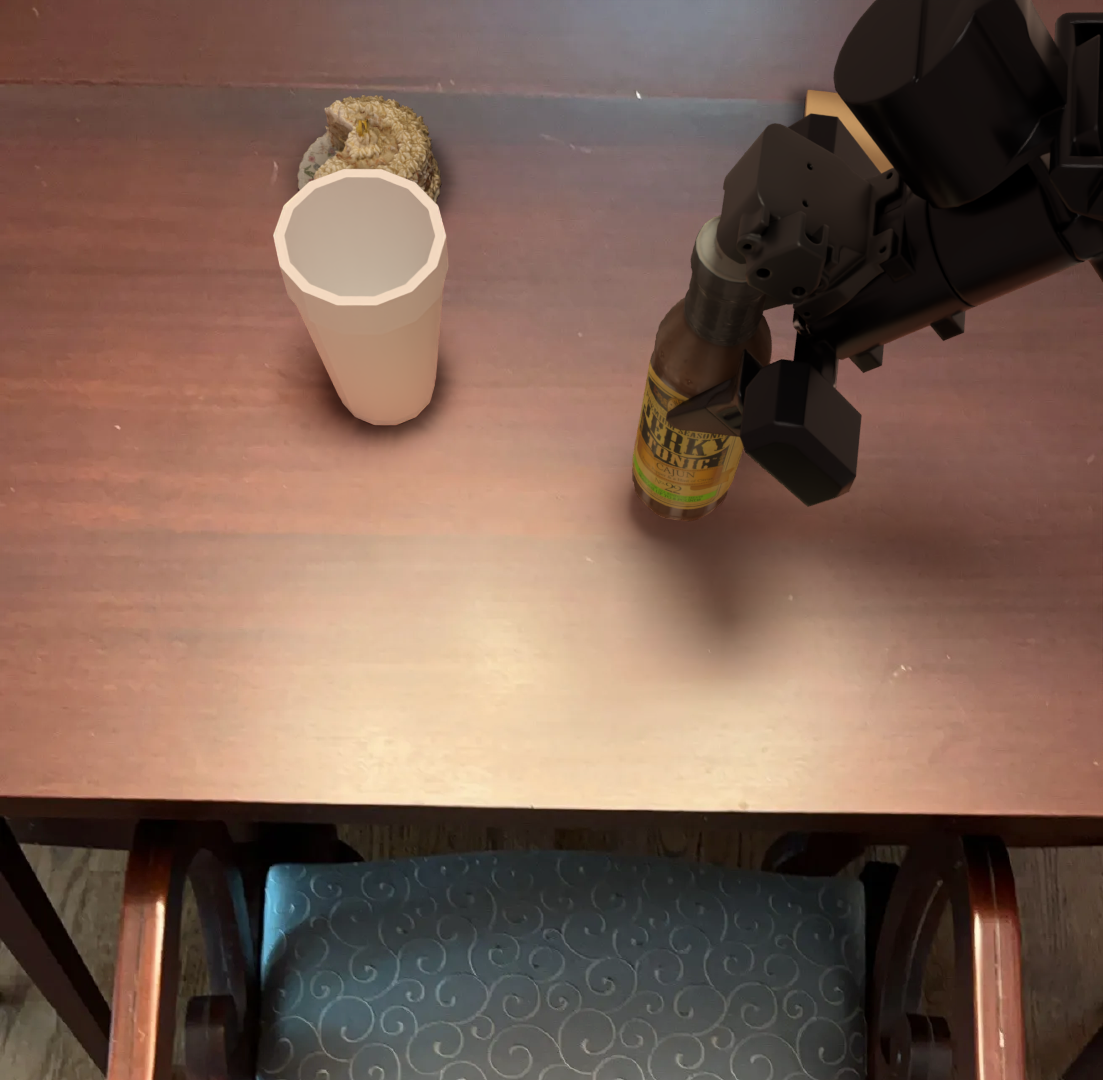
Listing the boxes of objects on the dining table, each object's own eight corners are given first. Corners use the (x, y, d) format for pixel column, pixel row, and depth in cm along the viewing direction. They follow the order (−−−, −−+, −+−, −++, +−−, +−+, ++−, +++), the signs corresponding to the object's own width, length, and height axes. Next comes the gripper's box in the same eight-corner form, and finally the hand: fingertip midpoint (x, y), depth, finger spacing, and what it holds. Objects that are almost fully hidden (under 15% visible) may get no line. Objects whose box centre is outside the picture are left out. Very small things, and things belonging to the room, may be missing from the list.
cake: (441, 131, 84) (442, 66, 79) (441, 246, 81) (442, 186, 76) (300, 123, 83) (292, 55, 78) (295, 239, 80) (286, 177, 75)
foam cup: (482, 357, 78) (474, 205, 65) (419, 466, 75) (398, 330, 63) (355, 305, 79) (323, 146, 66) (288, 411, 76) (242, 266, 64)
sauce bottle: (612, 501, 71) (637, 262, 53) (657, 424, 73) (697, 165, 54) (707, 545, 71) (767, 318, 52) (750, 466, 72) (824, 218, 53)
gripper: (879, -61, 49) (603, 129, 60) (841, 306, 43) (544, 440, 54) (999, 124, 56) (733, 263, 67) (980, 459, 50) (692, 550, 61)
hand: (678, 369), depth 62 cm, fingers closed on sauce bottle, 6 cm apart
